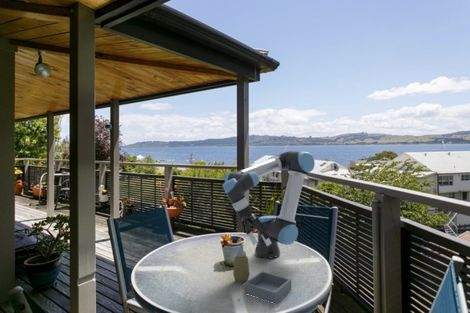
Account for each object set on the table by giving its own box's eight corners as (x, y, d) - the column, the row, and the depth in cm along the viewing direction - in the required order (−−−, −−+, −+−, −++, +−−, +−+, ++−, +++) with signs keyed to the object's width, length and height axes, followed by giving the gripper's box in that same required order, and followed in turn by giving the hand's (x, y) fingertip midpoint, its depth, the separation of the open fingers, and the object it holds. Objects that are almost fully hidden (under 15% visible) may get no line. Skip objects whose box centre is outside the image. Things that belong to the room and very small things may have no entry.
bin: (261, 281, 152) (261, 271, 151) (291, 289, 143) (291, 279, 142) (244, 294, 139) (244, 283, 139) (275, 304, 130) (275, 292, 130)
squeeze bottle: (235, 286, 147) (235, 248, 146) (231, 279, 154) (231, 243, 154) (251, 284, 149) (251, 246, 148) (246, 277, 157) (246, 241, 156)
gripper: (226, 213, 167) (245, 247, 167) (248, 209, 145) (270, 249, 145) (237, 206, 170) (255, 239, 171) (260, 201, 149) (281, 240, 149)
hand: (262, 244), depth 158 cm, fingers open, 13 cm apart
